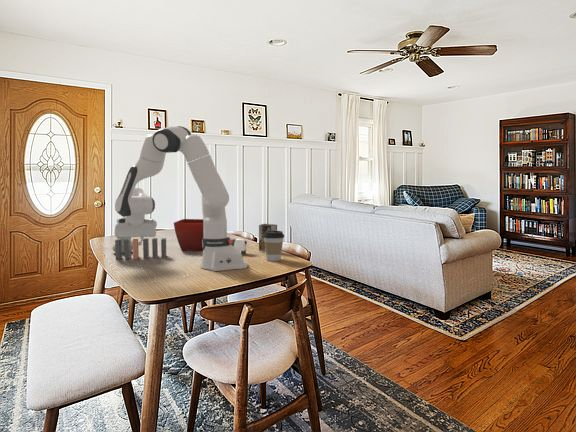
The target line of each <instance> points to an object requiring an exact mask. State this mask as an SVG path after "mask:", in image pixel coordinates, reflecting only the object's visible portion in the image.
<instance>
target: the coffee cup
mask: <svg viewBox="0 0 576 432" xmlns="http://www.w3.org/2000/svg"><path fill="white" fill-rule="evenodd" d="M263 237H264V242H265V250H266V253H265V259H266V261H269V262H279V260H280V261H281V258H282V252H283V251H282V250H283V242H284V238H285V234H284V233H283V231H282V230H277V231H265V234H263Z"/></svg>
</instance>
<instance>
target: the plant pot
mask: <svg viewBox="0 0 576 432" xmlns="http://www.w3.org/2000/svg"><path fill="white" fill-rule="evenodd" d="M173 227H174V232H175V235H176V239H177V243H178V245H179V248H180V250H181V251H203V248H202V240H203V237H204V233H203V218H201V219H200V218H197V219H196V218H192V219H191V218H182V219H180V220H177V221H174V222H173Z"/></svg>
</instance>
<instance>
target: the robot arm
mask: <svg viewBox="0 0 576 432" xmlns="http://www.w3.org/2000/svg"><path fill="white" fill-rule="evenodd" d="M178 152H181V153H182V155H183V157H184V158H185V161H186V162H187V165H188V168H189V170H190V172H191V175H192V177H193V179H194V181H195V183H196V185H197V187H198V189H199V191H200V194H201V209H202V210H201V211H202V219H203V233H204V237H203V240H202V248H203V250H202V258H201V262H200V266H199V267H200V268H201V269H204V270H210V271H213V272H214V271H215V272H217V271H218V272H220V271H229V270H230V271H231V270H241V269H246V268H247V267H248V262H247V261H245V260H244V257H243V255H242V254H241V251H239V250H237V249H236V248H235V247H233V246H232V245H231V243H232V242H233V241H232V238H231V237H230V238H228V237H229V236H228V219H227V215H226V206H227V205H228V204H229V202H230V195H229V192H228V190H227V188H226V186H225V184H224V182H223V180H222V178H221V176H220V174H219V173H218V170H217V167H216V166H215V163H214V161H213V159H212V156H211V154H210V151H209V149H208V147H207V146H206V144H205V141H204V140H203V139H202V138H201V136H199V135H198V134H192V132H191V131H190V130H189V129H188V128H187V127H184V126H181V125H180V126H168V127H164V128H159V129H158V130H156V131H155V132H154V134H148V135H147V136H146V137H145V138H144V141H143V143H142V146H141V149H140V155H139V157H138V160H137V162H136V163H135V164H134V165H131V167H129V170H128V172H127V174H126V178H125V179H124V183H123V185H122V188H121V190H120V193H119V195H118V196H117V198H116V200H115V203H114V210H115V212H116V213H117V214H118V215H120V216H121V217H119V218H117V219H116V223H117V224H115V226H114V236H115V238H117V237H128V240H129V242H130V246H133V240H132V238H140V241H138V246H143V239H144V238H156V237H157V236H156V235H157V229H156V228H157V224H158V223H157V221H156V220H155V219H153V218H152V219H146V217H145V216H146V215H151V214H152V213H153V212H154V211H155V209H156V201H155V199H154V198H153V197H152V196H151V195H150V196H149V195H148V194H146V193H145V192H144V190H143V188H139V187H138V188H136V186H137V184H139V182H141V181H143V180H145V179H147V178H151V177H154V176H157V175H159V174H160V173H161V172H162V170H163V169H164V165H165V158H166V154H167V153H168V154H169V153H170V154H171V153H178Z"/></svg>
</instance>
